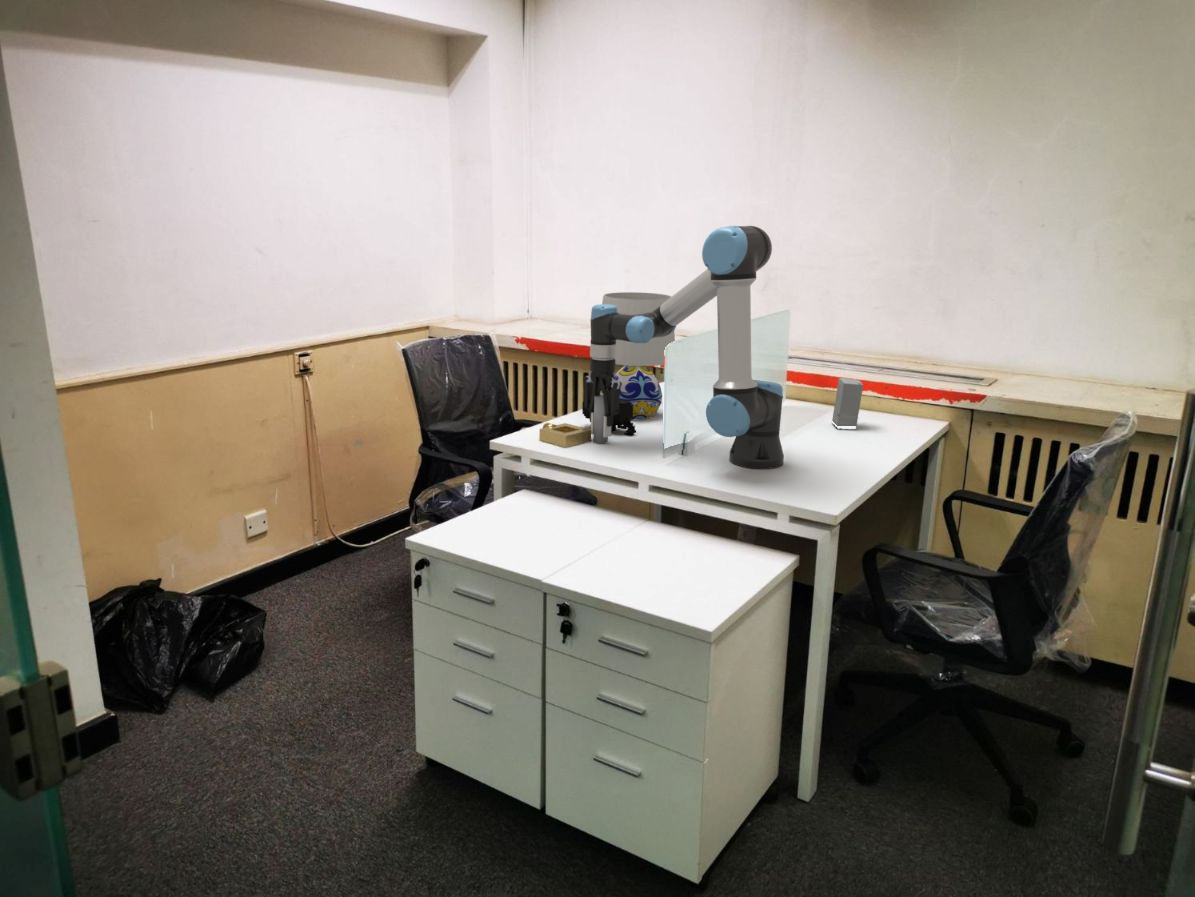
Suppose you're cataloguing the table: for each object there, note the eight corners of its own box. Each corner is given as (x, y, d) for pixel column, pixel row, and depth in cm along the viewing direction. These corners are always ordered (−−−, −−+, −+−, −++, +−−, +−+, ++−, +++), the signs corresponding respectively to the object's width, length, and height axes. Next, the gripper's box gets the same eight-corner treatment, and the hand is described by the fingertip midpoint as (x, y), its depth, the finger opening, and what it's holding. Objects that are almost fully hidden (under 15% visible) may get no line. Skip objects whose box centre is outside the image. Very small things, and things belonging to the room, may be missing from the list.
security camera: (627, 437, 276) (628, 406, 273) (580, 427, 287) (580, 397, 284) (640, 433, 282) (641, 402, 279) (593, 423, 292) (594, 393, 289)
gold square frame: (591, 441, 272) (591, 428, 270) (565, 447, 264) (565, 434, 263) (559, 432, 280) (559, 420, 279) (533, 438, 272) (533, 425, 271)
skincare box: (831, 423, 300) (835, 377, 296) (852, 424, 300) (857, 377, 296) (836, 430, 292) (841, 382, 288) (859, 430, 292) (864, 382, 287)
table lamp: (604, 426, 290) (608, 300, 279) (585, 407, 315) (587, 291, 304) (684, 422, 296) (691, 300, 285) (659, 404, 322) (664, 291, 311)
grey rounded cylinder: (610, 441, 271) (612, 396, 267) (601, 444, 268) (602, 398, 264) (600, 439, 274) (601, 394, 270) (590, 441, 271) (591, 396, 267)
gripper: (633, 360, 261) (631, 438, 267) (589, 352, 272) (588, 427, 279) (616, 363, 256) (614, 442, 262) (572, 355, 267) (571, 431, 273)
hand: (600, 434), depth 270 cm, fingers closed on grey rounded cylinder, 4 cm apart
